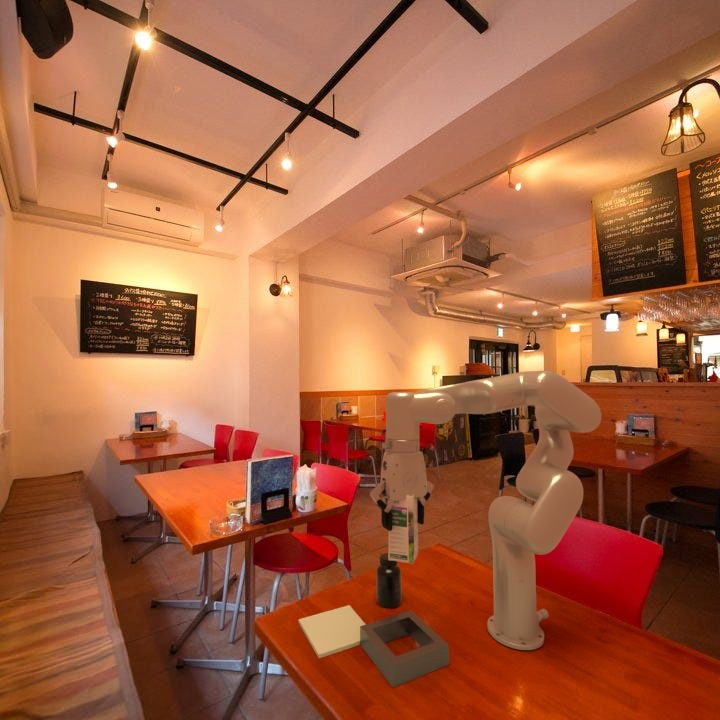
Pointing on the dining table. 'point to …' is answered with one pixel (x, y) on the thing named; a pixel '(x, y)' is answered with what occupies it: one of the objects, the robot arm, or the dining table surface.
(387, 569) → the supplement bottle
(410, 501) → the syrup box
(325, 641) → the pad
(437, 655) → the collar
